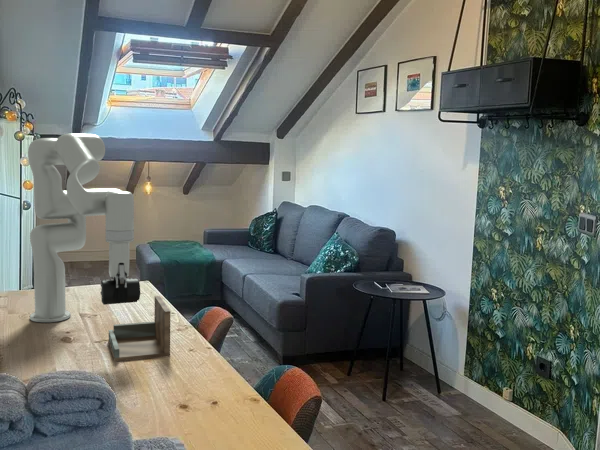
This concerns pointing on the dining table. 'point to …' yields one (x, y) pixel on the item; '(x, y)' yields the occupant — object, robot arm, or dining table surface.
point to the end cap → (109, 291)
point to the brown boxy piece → (143, 336)
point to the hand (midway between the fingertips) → (120, 297)
